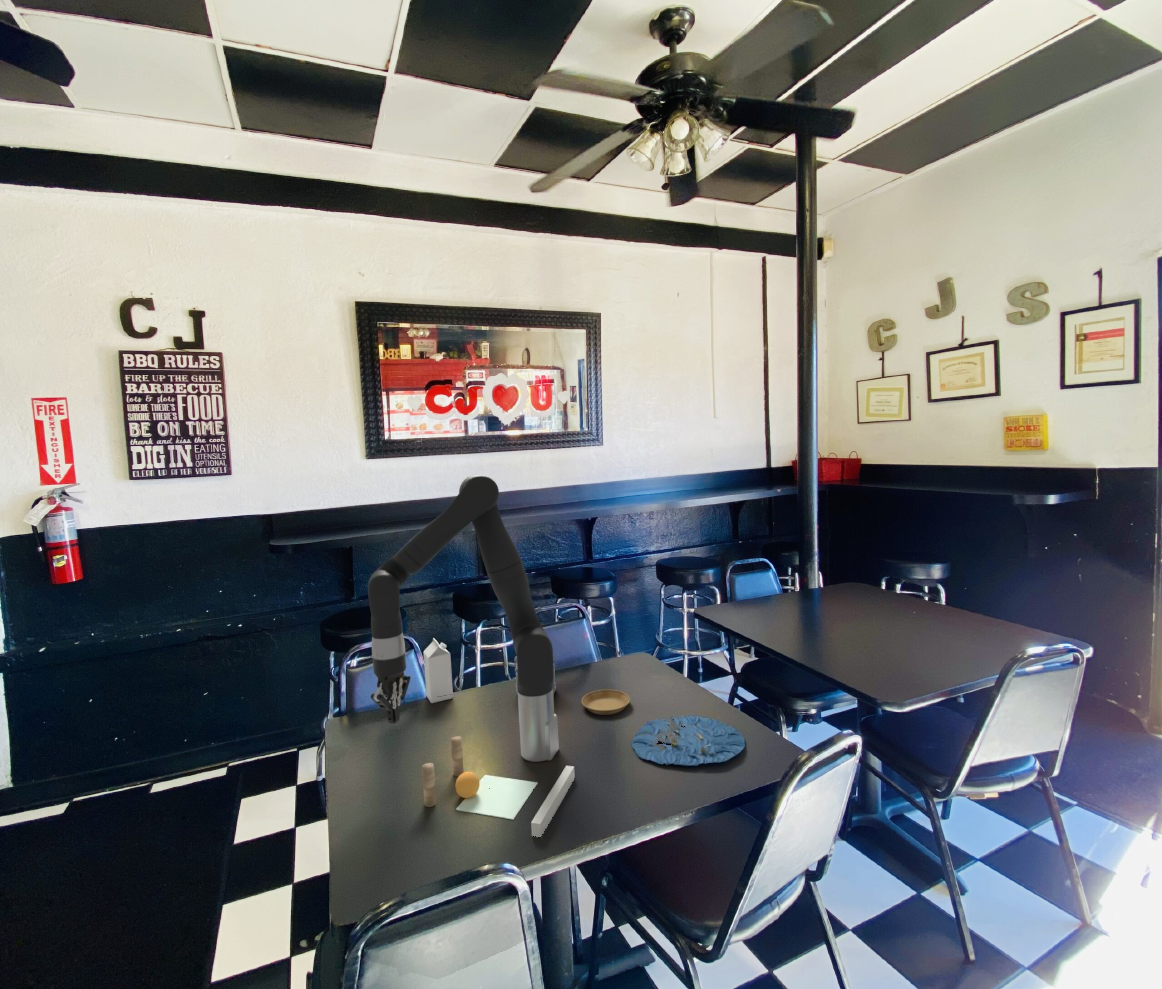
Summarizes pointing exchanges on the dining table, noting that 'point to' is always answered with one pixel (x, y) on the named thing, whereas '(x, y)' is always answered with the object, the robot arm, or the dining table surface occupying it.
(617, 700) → the plant saucer
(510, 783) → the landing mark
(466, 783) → the ball
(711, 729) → the decorative plate
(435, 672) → the milk carton
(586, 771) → the dining table surface
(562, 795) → the rail
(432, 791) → the post left
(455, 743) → the post right
